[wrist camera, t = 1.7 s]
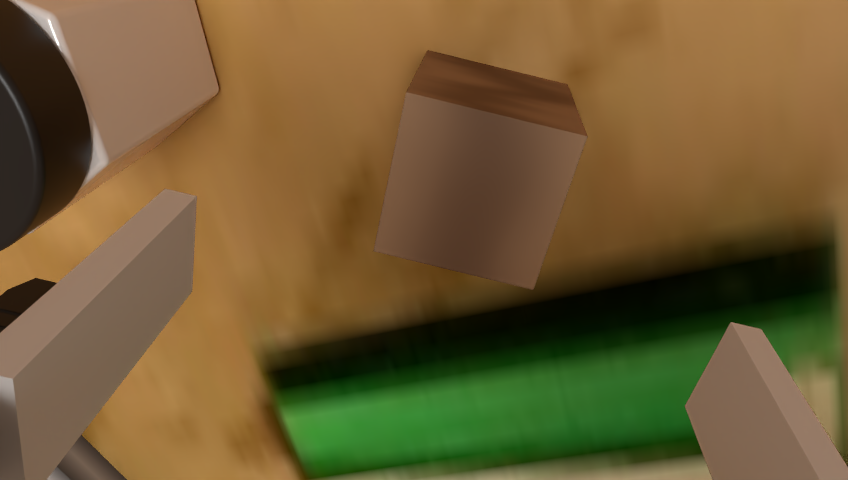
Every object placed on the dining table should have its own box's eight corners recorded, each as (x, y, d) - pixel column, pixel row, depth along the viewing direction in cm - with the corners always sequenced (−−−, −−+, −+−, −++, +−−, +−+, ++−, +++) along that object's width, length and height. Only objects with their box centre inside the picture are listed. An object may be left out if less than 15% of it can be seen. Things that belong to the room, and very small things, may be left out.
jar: (116, -108, 25) (-161, -119, 15) (258, 62, 28) (109, 157, 17) (-9, 33, 28) (-312, 107, 18) (128, 174, 31) (-66, 313, 20)
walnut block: (567, 84, 27) (587, 136, 21) (526, 210, 30) (533, 289, 24) (427, 50, 27) (406, 92, 21) (399, 179, 30) (373, 251, 23)
